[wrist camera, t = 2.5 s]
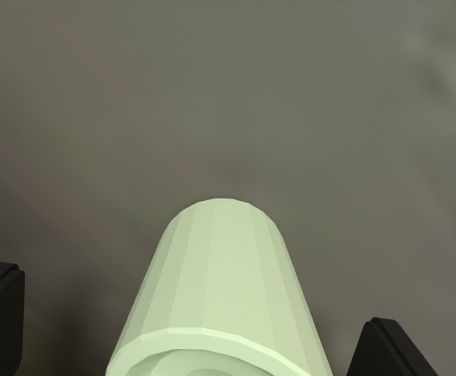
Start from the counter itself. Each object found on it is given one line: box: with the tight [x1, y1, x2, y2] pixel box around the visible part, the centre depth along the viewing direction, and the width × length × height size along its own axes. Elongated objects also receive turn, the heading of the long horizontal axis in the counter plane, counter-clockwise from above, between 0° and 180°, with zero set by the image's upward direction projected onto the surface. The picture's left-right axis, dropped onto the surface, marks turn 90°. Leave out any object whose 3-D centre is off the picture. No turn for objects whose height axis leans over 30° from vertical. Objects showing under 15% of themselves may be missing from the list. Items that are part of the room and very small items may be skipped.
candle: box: [105, 199, 333, 376], centre depth 10 cm, size 5×5×8 cm
